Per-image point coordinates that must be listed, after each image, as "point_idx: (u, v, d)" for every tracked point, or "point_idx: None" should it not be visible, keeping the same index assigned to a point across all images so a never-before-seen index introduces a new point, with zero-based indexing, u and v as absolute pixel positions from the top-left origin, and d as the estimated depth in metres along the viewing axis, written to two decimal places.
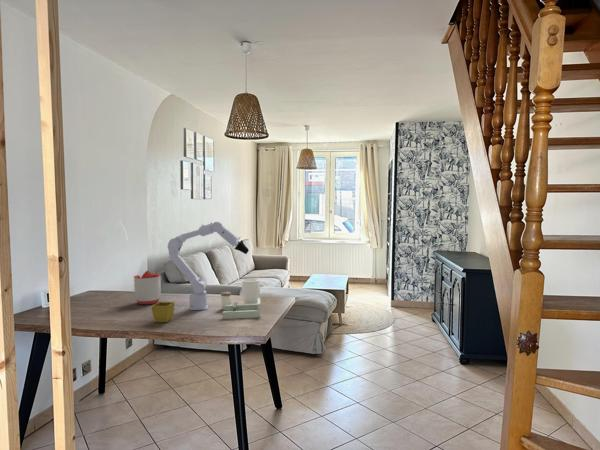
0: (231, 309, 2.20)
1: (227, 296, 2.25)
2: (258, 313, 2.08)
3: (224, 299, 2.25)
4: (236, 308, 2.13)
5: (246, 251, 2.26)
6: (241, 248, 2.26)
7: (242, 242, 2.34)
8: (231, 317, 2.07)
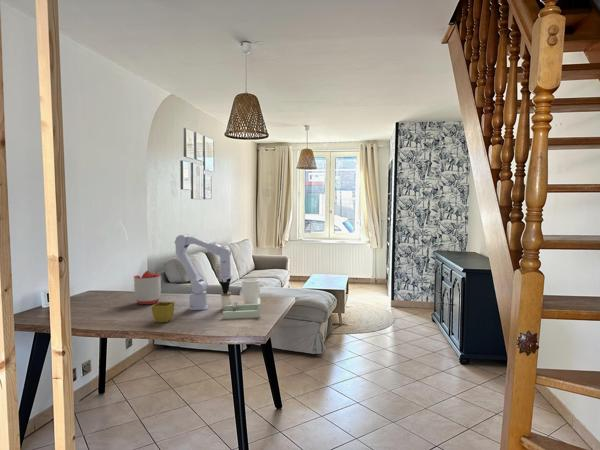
0: (231, 309, 2.20)
1: (227, 296, 2.25)
2: (258, 313, 2.08)
3: (224, 299, 2.25)
4: (236, 308, 2.13)
5: (225, 292, 2.23)
6: (224, 286, 2.23)
7: (229, 281, 2.31)
8: (231, 317, 2.07)
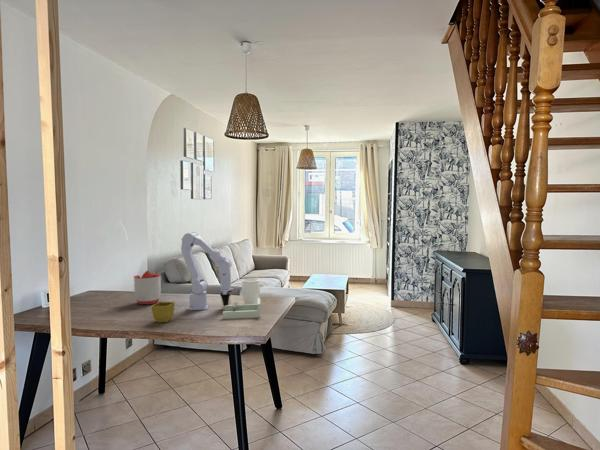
0: (231, 309, 2.20)
1: None
2: (258, 313, 2.08)
3: None
4: (236, 308, 2.13)
5: (226, 304, 2.24)
6: (225, 298, 2.24)
7: None
8: (231, 317, 2.07)
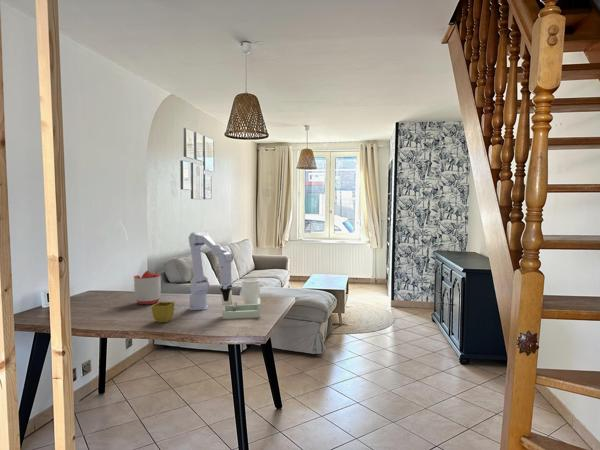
0: (231, 309, 2.20)
1: None
2: (258, 313, 2.08)
3: None
4: (236, 308, 2.13)
5: (226, 299, 2.10)
6: (225, 293, 2.10)
7: None
8: (231, 317, 2.07)
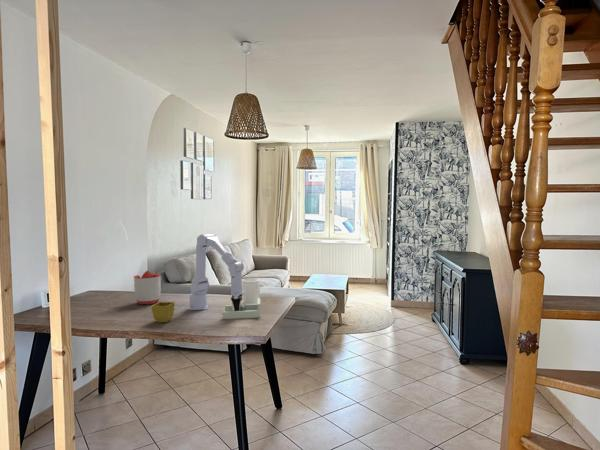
0: (231, 309, 2.20)
1: None
2: (258, 313, 2.08)
3: None
4: None
5: (237, 309, 2.11)
6: (236, 303, 2.11)
7: None
8: (231, 317, 2.07)
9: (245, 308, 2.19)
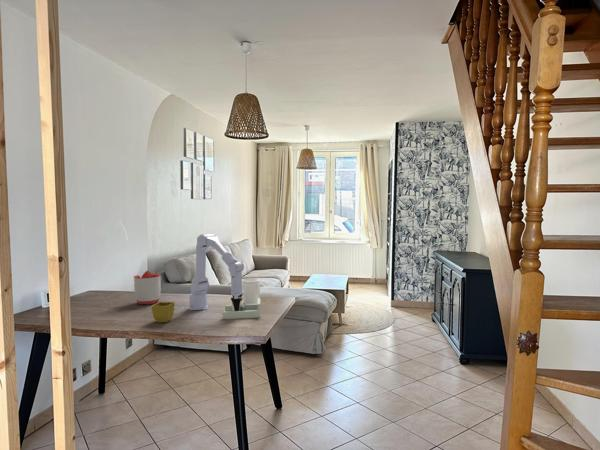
0: (231, 309, 2.20)
1: None
2: (258, 313, 2.08)
3: None
4: None
5: (237, 309, 2.10)
6: (236, 303, 2.10)
7: (241, 296, 2.18)
8: (231, 317, 2.07)
9: None
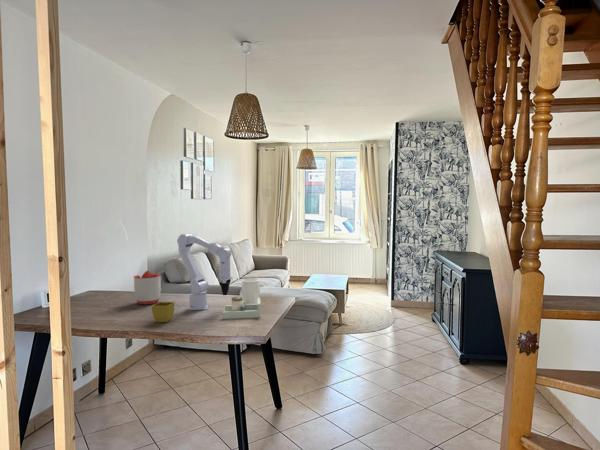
0: (231, 309, 2.20)
1: (238, 301, 2.12)
2: (258, 313, 2.08)
3: (235, 305, 2.11)
4: None
5: (225, 293, 2.20)
6: (224, 287, 2.20)
7: (229, 282, 2.28)
8: (231, 317, 2.07)
9: None
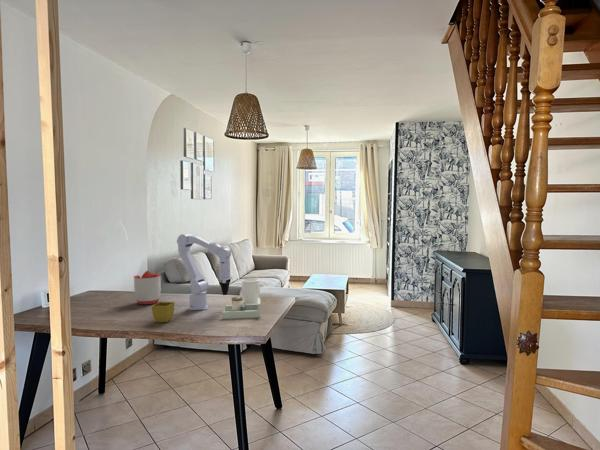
0: (231, 309, 2.20)
1: (238, 301, 2.12)
2: (258, 313, 2.08)
3: (235, 305, 2.12)
4: None
5: (225, 293, 2.20)
6: (224, 287, 2.20)
7: (229, 281, 2.28)
8: (231, 317, 2.07)
9: None
